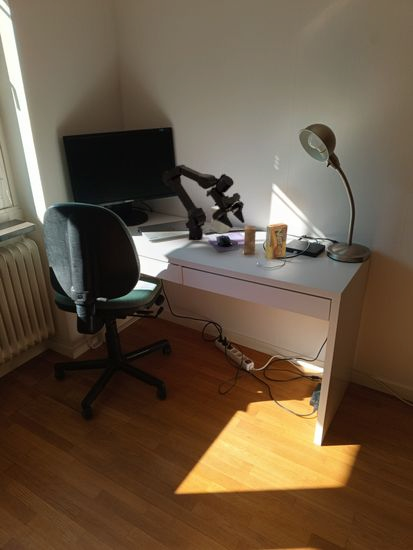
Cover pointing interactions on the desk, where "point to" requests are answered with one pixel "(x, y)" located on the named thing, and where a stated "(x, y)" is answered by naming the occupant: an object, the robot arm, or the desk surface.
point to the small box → (218, 223)
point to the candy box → (276, 240)
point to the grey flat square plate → (241, 254)
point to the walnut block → (249, 240)
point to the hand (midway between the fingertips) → (238, 225)
